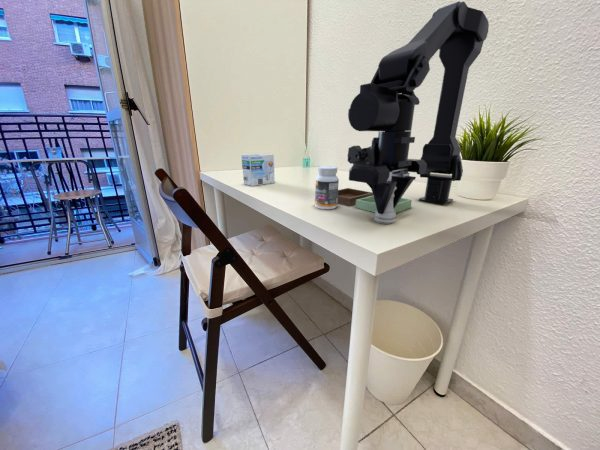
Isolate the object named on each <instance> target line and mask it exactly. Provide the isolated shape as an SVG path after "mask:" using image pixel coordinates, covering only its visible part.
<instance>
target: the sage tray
mask: <svg viewBox="0 0 600 450" xmlns="http://www.w3.org/2000/svg"><path fill="white" fill-rule="evenodd" d="M412 202H413V200H412V199H410V198H404V197H401V199H400V201H399V202H398V204H397V205H396V207H395V208H394V210H395V211H394V212H395V213H396V214H397V213H400V212H402V211H405V210H408V209H410V208H412ZM355 208H356V209H360V210H364V211H367V212H372V213H375V212H376V211H377V207H376V203H375V199H374V196H369V197H365V198H361V199H357V200H356V204H355Z"/></svg>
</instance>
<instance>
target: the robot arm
mask: <svg viewBox="0 0 600 450" xmlns="http://www.w3.org/2000/svg"><path fill="white" fill-rule="evenodd" d="M489 25H490V23H489V19H488V18H487V16H486V15H485V13H484V10H480V9H476V8H474V7H470V6H468V5H467V3H466V2H465V1H459V0H458V1H455V2H453V3H450V4H447V5H445V6H442V7H440V8H438V9H437V10H436V11H434V12H433V14H432V16H431V18H430V19H429V20H428V21H426V23H425V24H424V25H423V27H422V28H421V29H420V30H419V31H418V32H417V33H416V34H414V36H413V38H411V39H410V40H409V42H407V44H405V45H403V46H401V47H399V48H397V49H394V50H392V51H390V53H388V54H386V55H384V56H383V57H382V58H381V60H379V63H378V65H377V69H376V71H375V73H374V75H373V77H372V79H371V81H370V82H369V83H364V84H360V85H359V93H358V94H357V95H356V96H354V98H353V99H352V101H351V103H350V106H349V108H348V111H347V118H348V123H349V124H350V126H351V128H353V129H354V130H355V131H357V132H378V133H377V134H378V135H377V136H376V137H373V138H372V140H371V145H370V146H368V147H363V148H362V147H361V146H360V145H352V146H350V147H348V149H347V162H348V163H349V164H350V165H352V166H351V167H350V168H349V169H348V181H351V182H357V183H364V184H366V185H367V186H368V187H369V188H370V190H371V192H372V193H373V196H374V199H375V203H376V207H377V211H378V213H379V214H383V213H384V212H385V210H386V207H387V205H388V203H389V200H390V198H391V195H392V193H393V191H394V188H395V186H396V188H397V189H396V190H395V191H394V195H395V196H394V198H393V208H395V207H396V205H397V204H398V202H399V201H400V199H401V198H403V196H404V195H405V193H406V192H407V190H408V189H409V187H410V186H411V185H412V183H413V182H414V181H416V178H417V176H411V175H410V173H416V175H419V177H420V178H426V186H425V192H424V196H422V197H420V198H418V201H420V202H425V203H431V204H436V205H441V206H442V205H447V204H450V203H451V202H454V199H453V198H450V193H451V187H452V182H456V181H459V182H460V181H462V178H463V173H464V169H463V168H464V167H463V164H462V163H463V162H462V157H461V149H462V148H461V145H460V144H459V142H458V139H457V137H456V136H457V131H458V126H459V121H460V115H461V111H462V104H463V99H464V94H465V90H466V86H467V85H466V84H467V80H468V75H469V70H470V68H471V66H472V65H473V64H474V62H475V61H476V59H477V58H478V57H479V55H480V54H481V53H482V48H483V45H484V42H485V41H486V39H487V37H488V35H489V27H490V26H489ZM437 52H438V56H439V60H440V62H441V64H442V66H443V68H444V70H443V77H442V83H441V89H440V94H439V100H438V107H437V112H436V118H435V124H434V130H433V136H432V138H430V140H429V141H428V143H425V144H424V145H423V146H422V153H421V157H420V158H419V159H418V158H409V151H410V144H415V142H416V136H412V129H413V122H414V121H413V120H414V114H415V106H418V105H420V102H421V101H420V99H419V97H418V96H417V95H416V94H415V89H418V88H419V87H420V86H421V85H422V84H423V82H424V81H425V79H426V77H427V76H428V74H429V72H430V70H431V68H430V61H431V59H433V57H434V56H435V54H437Z"/></svg>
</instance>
